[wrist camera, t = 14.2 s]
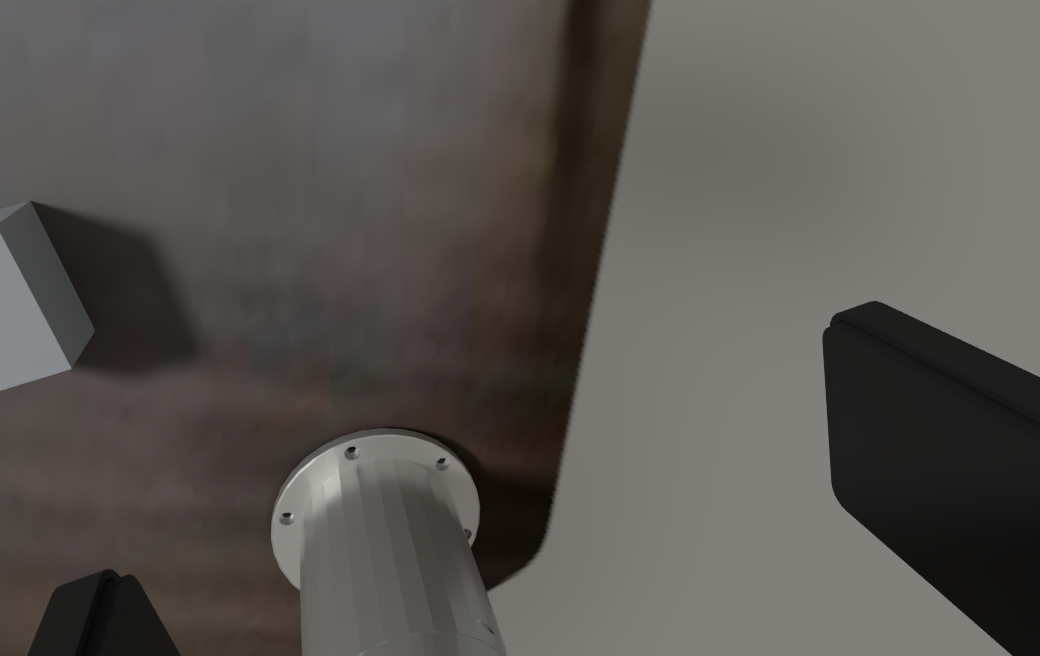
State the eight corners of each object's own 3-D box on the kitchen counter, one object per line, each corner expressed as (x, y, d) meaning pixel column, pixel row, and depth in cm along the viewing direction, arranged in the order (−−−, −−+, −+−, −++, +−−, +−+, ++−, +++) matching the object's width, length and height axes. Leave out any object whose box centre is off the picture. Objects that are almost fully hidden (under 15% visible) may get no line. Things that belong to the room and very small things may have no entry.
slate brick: (95, 329, 40) (71, 368, 35) (14, 353, 39) (-21, 396, 35) (30, 200, 37) (-4, 225, 33) (-58, 223, 36) (-107, 252, 32)
